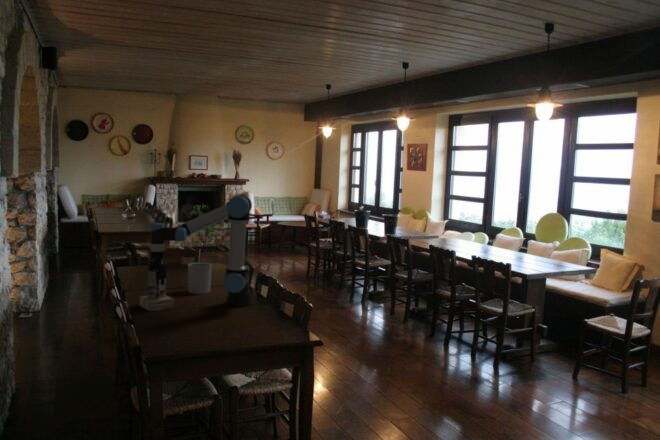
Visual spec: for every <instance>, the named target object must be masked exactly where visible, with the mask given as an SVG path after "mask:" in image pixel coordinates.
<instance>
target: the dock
mask: <svg viewBox="0 0 660 440" xmlns="http://www.w3.org/2000/svg"><path fill="white" fill-rule="evenodd" d="M175 301H176V300H175V298H173V297H170V296H169V295H168V294H167V295H166V296H165V297H163V298H161V299H158V300H153V299H148V294H147V295H141V296H140V295H139V297H138V303H139V304H138V305H139V306H140V307H141V308H143V309H145V310H147V311H149V312H156V311H157V312H158V311H164V310H171V309H175Z"/></svg>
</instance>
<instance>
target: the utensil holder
mask: <svg viewBox="0 0 660 440" xmlns="http://www.w3.org/2000/svg"><path fill="white" fill-rule="evenodd" d="M212 267H213V265H212V263H210V262H209V263H208V262H191V263H188V264H187V269H188V271H187V273H188V275H187V276H188V277H187V289H188V290H187V291H188V292H189V293H190V294H193V295H194V294H195V295H201V294H202V295H203V294H208V293H210V292H211V287H212V286H211V283H212V281H211V280H212Z"/></svg>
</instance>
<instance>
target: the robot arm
mask: <svg viewBox="0 0 660 440" xmlns="http://www.w3.org/2000/svg"><path fill="white" fill-rule="evenodd" d="M252 203H253V202H252V200H251V199H250V198H249V196H247V195H244V194H239V195H235V196H232V197H231V199H229V201H227V202H226V203H225V204H224V205H222V206H220V207H218V208H215V209H213V210H211V211H208V212H207V213H204V214H202V215H199V216H198V217H196V218H193V219H190V220H188V221H186V222H184V223H181V224H179V225H177V226H175V227H172V226H171V227H169V226H168V227H167V226H165V225H166V224H165V223H163V222H162V223H161V222H153V223H151V225H150V234H149V235H150V236H149V237H150V245H149V248H150V252H149V257H150V259H149V264H148V265H149V266H148V271H150V270H153V269H158V273H159V276H160V278H159V291H162V290H164V279H165V278H166V279H167V271H166V272H165V269H166V267H165V261H164V260H162V259H164V258H165V241H166V242H167V241H170V242H185V241H186V240H187V239H188V238H187V237H188V236H190V235H192V234H195V233H197V232H200V231H201V230H204V229H206V228H209V227H211V226H213V225H215V224H218V223H220V222H222V221H225V220H226V219H227V220H228V221H229V222H230V228H229V230H230V231H229V232H230V234H229V251H228V253H229V254H228V265H227V266H226V267H225V276H224V279H223V285H224V288H225V289H226V290H227V291H228V293H227V295H226V298H225V305H226V306H230V307H247V306H250V305H252V298H251V297H252V296H251V294H250V291H249V290H250V289H249V288H250V270H251V269H250V267H249V265H245V259H246V258H245V256H246V255H245V253H246V234H247V223H248V222H249V221H250V212H251V210H252V207H253V205H252ZM148 271H147V272H148Z"/></svg>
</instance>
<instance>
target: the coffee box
mask: <svg viewBox="0 0 660 440" xmlns="http://www.w3.org/2000/svg"><path fill="white" fill-rule="evenodd" d="M165 272H166V273H167V269H166V268H165ZM159 278H160V276H159V273H158V269H153V270H150V271H147V295H148V299H153V300H158V299H161V298H163V297H165V296H166V292H167V291H166V288H167V286H166V284H167V277H166V278H165V279H164V290H162V291H159Z"/></svg>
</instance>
